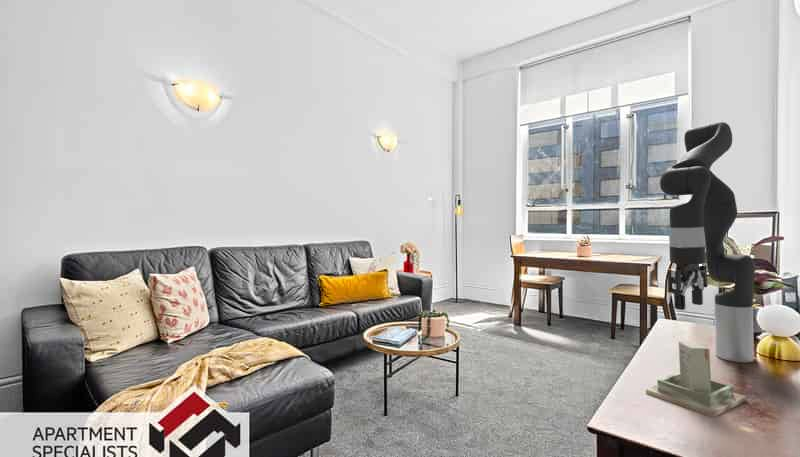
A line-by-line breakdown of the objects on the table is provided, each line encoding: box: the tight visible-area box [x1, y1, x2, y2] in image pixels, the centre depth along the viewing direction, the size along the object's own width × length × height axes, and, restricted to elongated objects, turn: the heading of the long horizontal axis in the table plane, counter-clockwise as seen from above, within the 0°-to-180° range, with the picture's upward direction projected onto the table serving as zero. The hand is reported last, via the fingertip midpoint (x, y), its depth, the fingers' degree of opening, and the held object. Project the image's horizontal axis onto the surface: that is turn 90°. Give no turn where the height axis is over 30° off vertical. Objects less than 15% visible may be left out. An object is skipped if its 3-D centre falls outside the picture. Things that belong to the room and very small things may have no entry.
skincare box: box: [678, 341, 712, 395], centre depth 100 cm, size 6×4×12 cm
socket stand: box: [645, 371, 747, 418], centre depth 100 cm, size 16×15×4 cm
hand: (688, 306), depth 102 cm, fingers open, 8 cm apart
